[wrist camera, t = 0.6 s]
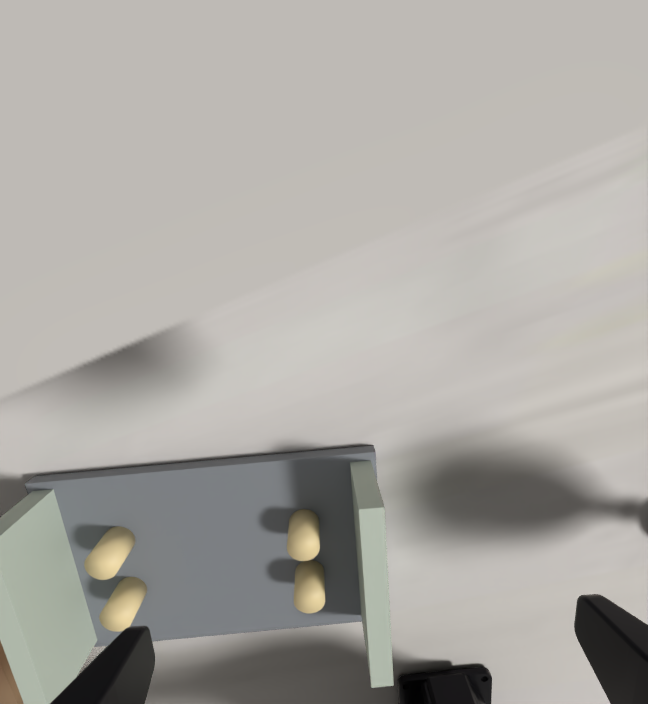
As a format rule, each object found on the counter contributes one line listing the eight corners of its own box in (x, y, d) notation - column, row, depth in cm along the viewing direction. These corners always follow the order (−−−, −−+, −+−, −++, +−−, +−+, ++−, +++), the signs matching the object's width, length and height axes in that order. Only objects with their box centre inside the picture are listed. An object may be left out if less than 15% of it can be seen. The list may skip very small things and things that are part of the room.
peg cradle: (382, 608, 25) (399, 692, 20) (83, 636, 25) (27, 728, 20) (373, 445, 22) (390, 497, 17) (34, 475, 22) (-45, 537, 17)
